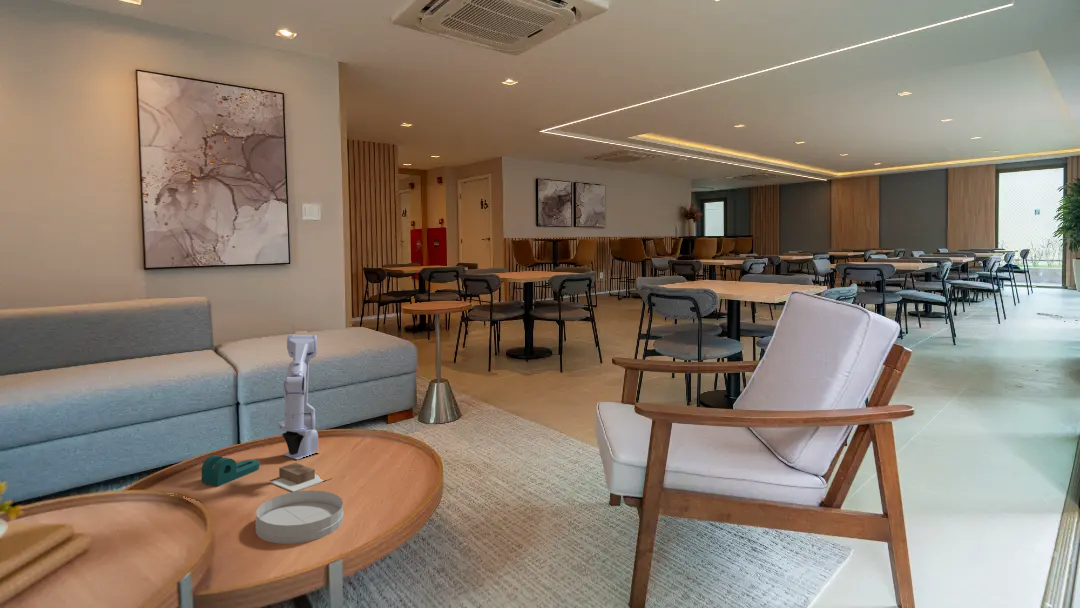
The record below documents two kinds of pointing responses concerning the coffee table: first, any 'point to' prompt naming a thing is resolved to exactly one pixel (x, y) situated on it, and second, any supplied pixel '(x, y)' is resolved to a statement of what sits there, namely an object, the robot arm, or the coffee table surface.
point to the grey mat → (296, 487)
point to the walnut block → (297, 473)
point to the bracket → (225, 470)
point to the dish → (299, 517)
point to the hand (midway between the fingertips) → (293, 453)
